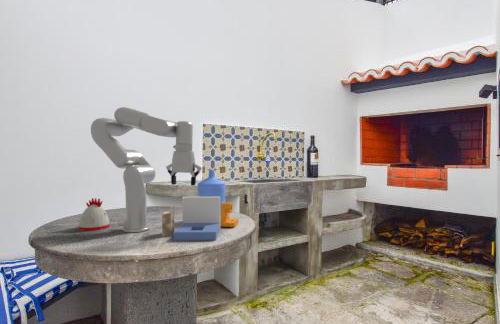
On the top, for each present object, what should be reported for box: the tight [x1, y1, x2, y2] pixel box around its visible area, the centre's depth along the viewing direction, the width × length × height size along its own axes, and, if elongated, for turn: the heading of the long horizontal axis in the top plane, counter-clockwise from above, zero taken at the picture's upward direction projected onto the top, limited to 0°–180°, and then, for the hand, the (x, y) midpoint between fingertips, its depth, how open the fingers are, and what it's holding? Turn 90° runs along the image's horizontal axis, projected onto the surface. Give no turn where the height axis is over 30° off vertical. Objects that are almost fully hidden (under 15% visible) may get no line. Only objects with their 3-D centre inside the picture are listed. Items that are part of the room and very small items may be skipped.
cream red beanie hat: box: [78, 197, 111, 232], centre depth 155 cm, size 14×14×15 cm
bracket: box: [220, 201, 239, 228], centre depth 158 cm, size 11×7×12 cm, turn 168°
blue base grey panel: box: [172, 196, 221, 242], centre depth 140 cm, size 18×20×16 cm
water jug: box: [196, 169, 226, 214], centre depth 173 cm, size 16×16×28 cm
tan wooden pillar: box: [161, 210, 175, 237], centre depth 141 cm, size 4×6×10 cm, turn 0°
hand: (183, 184), depth 144 cm, fingers open, 9 cm apart
